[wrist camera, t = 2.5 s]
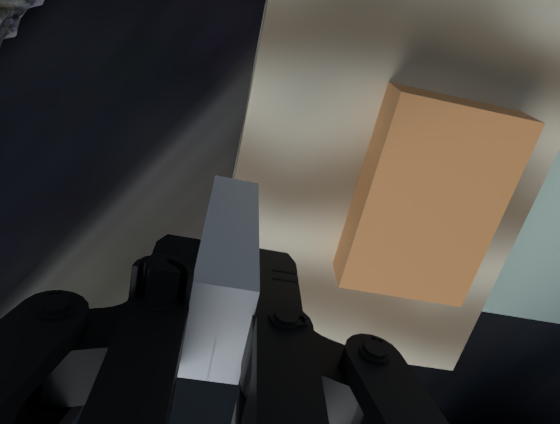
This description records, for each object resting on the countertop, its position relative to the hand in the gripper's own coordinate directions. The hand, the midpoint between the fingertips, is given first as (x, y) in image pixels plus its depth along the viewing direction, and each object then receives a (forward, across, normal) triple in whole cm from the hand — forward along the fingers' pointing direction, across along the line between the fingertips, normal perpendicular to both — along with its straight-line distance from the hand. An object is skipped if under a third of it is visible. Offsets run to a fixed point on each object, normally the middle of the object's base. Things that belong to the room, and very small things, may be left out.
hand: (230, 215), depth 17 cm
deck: (+9, +7, 0) cm, 11 cm away
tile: (+5, +8, 0) cm, 10 cm away
